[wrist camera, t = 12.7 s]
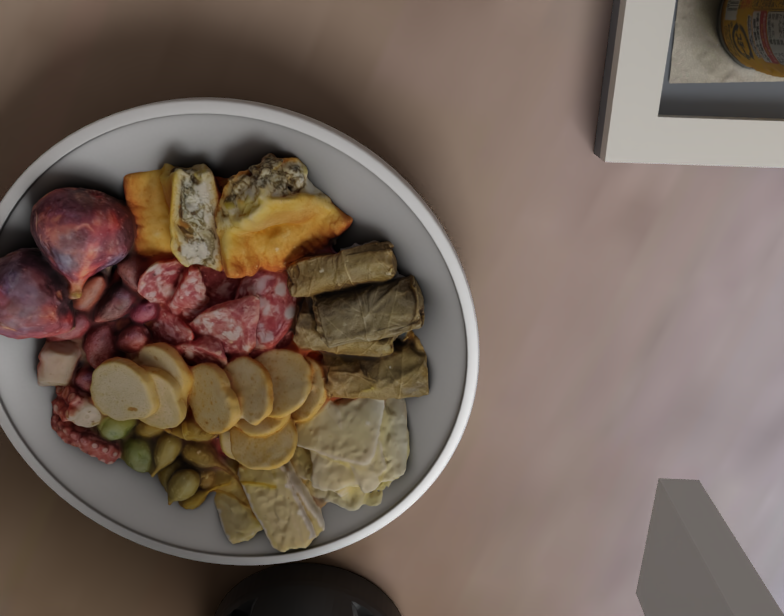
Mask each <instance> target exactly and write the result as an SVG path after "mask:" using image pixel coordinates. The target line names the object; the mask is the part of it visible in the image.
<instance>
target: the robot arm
mask: <svg viewBox="0 0 784 616" xmlns="http://www.w3.org/2000/svg"><path fill="white" fill-rule="evenodd" d="M636 594H637V597H638V599H639V602H640V604H641V607H642V609H643V612H644V614H645V616H784V614H783V613H782V611H781V610H780V608H779V606H778V605H777V603H776V602H775V600H774V598H773V597H772V595H771V594H770V592H769V591H768V589H767V587H766V586H765V584H764V583H763V581H762V579H761V578H760V576H759V575H758V573H757V572H756V570H755V568H754V567H753V565H752V564H751V562H750V560H749V559H748V557H747V556H746V554H745V553H744V551H743V549H742V548H741V546H740V545H739V543H738V541H737V540H736V538H735V537H734V535H733V534H732V532H731V530H730V529H729V527H728V526H727V524H726V522H725V521H724V519H723V518H722V516H721V515H720V513H719V511H718V510H717V508H716V507H715V505H714V503H713V502H712V500H711V499H710V497H709V495H708V494H707V492H706V491H705V489H704V488H703V486H702V484H701V483H700V481H699V480H685V479H662V478H659V480H658V485H657V490H656V495H655V500H654V505H653V510H652V515H651V520H650V525H649V530H648V535H647V540H646V545H645V550H644V555H643V560H642V565H641V570H640V575H639V580H638V586H637V591H636ZM215 616H401V615H400V613H399V611H398V610H397V608H396V607H395V605H394V604H393V602H392V601H391V600H390V599H389V598H388V597H387V596H386V595H385V594H384V593H383V592H382V591H381V590H380V589H379V588H377V587H376V586H375V585H373V584H372V583H370V582H369V581H367V580H365V579H364V578H362V577H360V576H358V575H356V574H353V573H351V572H348V571H346V570H343V569H339V568H336V567H332V566H327V565H320V564H309V563H299V564H287V565H281V566H276V567H272V568H269V569H266V570H263V571H260V572H258V573H256V574H254V575H251V576H250V577H248V578H246V579H245V580H243V581H242V582H240V583H239V584H238V585H236V586H235V587H234V588H233V589H232V590H231V591H230V592H229V593H228V594H227V595H226V596H225V598H224V599H223V600H222V602H221V604H220V605H219V607H218V609H217V611H216V614H215Z"/></svg>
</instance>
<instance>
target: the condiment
mask: <svg viewBox="0 0 784 616" xmlns="http://www.w3.org/2000/svg"><path fill="white" fill-rule="evenodd" d="M717 44H718V45H717ZM776 81H784V0H678V6H677V16H676V21H675V34H674V44H673V51H672V61H671V71H670V80H669V83H729V82H776Z"/></svg>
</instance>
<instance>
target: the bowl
mask: <svg viewBox="0 0 784 616" xmlns="http://www.w3.org/2000/svg"><path fill="white" fill-rule="evenodd" d="M478 373H479V334H478V325H477V318H476V313H475V307H474V303H473V299H472V295H471V291H470V287H469V284H468V281H467V278H466V275H465V272H464V269H463V267H462V264H461V262H460V259H459V257H458V255H457V252H456V250H455V248H454V246H453V244H452V242H451V240H450V238H449V237H448V235H447V233H446V232H445V230H444V228H443V227H442V225H441V223H440V222H439V220H438V219H437V217H436V216H435V215H434V213H433V212H432V210H431V209H430V208H429V206H428V205H427V204H426V202H425V201H424V200H423V199H422V197H421V196H420V195H419V194H418V193H417V192H416V191H415V189H414V188H413V187H412V186H411V185H410V184H409V183H408V182H407V181H406V180H405V179H404V178H403V177H402V176H401V175H400V174H399V173H398V172H397V171H396V170H395V169H394V168H392V167H391V166H390V165H389V164H388V163H387V162H385V161H384V160H383V159H382V158H380V157H379V156H378V155H376V154H375V153H374V152H372V151H371V150H370V149H368V148H367V147H365V146H364V145H362V144H361V143H359V142H358V141H356V140H355V139H353V138H351V137H350V136H348V135H346V134H344V133H343V132H341V131H339V130H337V129H335V128H333V127H331V126H329V125H327V124H325V123H323V122H321V121H318V120H316V119H313V118H311V117H308V116H306V115H303V114H300V113H297V112H294V111H291V110H288V109H285V108H281V107H277V106H273V105H269V104H265V103H259V102H254V101H249V100H241V99H233V98H217V97H194V98H182V99H172V100H166V101H159V102H154V103H150V104H145V105H141V106H137V107H134V108H130V109H127V110H124V111H120V112H118V113H115V114H112V115H110V116H107V117H104V118H102V119H99V120H97V121H95V122H93V123H91V124H89V125H87V126H84V127H83V128H81V129H79V130H77V131H75V132H74V133H72V134H70V135H68V136H67V137H65V138H64V139H62V140H61V141H60V142H58V143H57V144H55V145H54V146H52V147H51V148H50V149H49V150H47V151H46V152H45V153H44V154H42V155H41V156H40V157H39V158H38V159H37V160H36V161H35V162H33V163H32V164H31V165H30V166H29V167H28V168H27V169H26V170H25V171H24V173H23V174H22V175H21V176H20V177H19V178H18V179H17V180H16V182H15V183H14V184H13V185H12V187H11V188H10V189H9V190H8V192H7V193H6V195H5V196H4V198H3V199H2V201H1V202H0V425H1V427H2V429H3V430H4V432H5V434H6V435H7V437H8V438H9V440H10V441H11V443H12V444H13V446H14V447H15V448H16V450H17V451H18V453H19V454H20V455H21V456H22V458H23V459H24V460H25V461H26V463H27V464H28V465H29V466H30V467H31V468H32V469H33V471H34V472H35V473H36V474H37V475H38V476H39V477H40V478H41V479H42V480H43V481H44V482H45V483H46V484H47V485H48V486H49V487H50V488H51V489H52V490H54V491H55V492H56V493H57V494H58V495H59V496H60V497H62V498H63V499H64V500H65V501H66V502H68V503H69V504H70V505H71V506H73V507H74V508H76V509H77V510H78V511H80V512H81V513H83V514H84V515H85V516H87V517H89V518H90V519H92V520H93V521H95V522H96V523H98V524H100V525H102V526H103V527H105V528H107V529H109V530H110V531H112V532H114V533H116V534H118V535H120V536H122V537H124V538H127V539H129V540H131V541H133V542H136V543H138V544H140V545H143V546H146V547H148V548H151V549H154V550H157V551H160V552H163V553H166V554H170V555H174V556H177V557H181V558H186V559H191V560H195V561H202V562H208V563H216V564H226V565H269V564H279V563H286V562H293V561H299V560H303V559H308V558H312V557H316V556H319V555H323V554H326V553H329V552H332V551H335V550H338V549H341V548H343V547H345V546H348V545H350V544H353V543H355V542H357V541H359V540H361V539H363V538H365V537H367V536H369V535H371V534H372V533H374V532H376V531H378V530H379V529H381V528H382V527H384V526H385V525H387V524H389V523H390V522H391V521H393V520H394V519H395V518H397V517H398V516H400V515H401V514H402V513H403V512H404V511H406V510H407V509H408V508H409V507H410V506H412V505H413V504H414V503H415V502H416V501H417V500H418V499H419V498H420V497H421V496H422V495H423V494H424V493H425V492H426V490H427V489H428V488H429V487H430V486H431V485H432V484H433V482H434V481H435V480H436V479H437V477H438V476H439V475H440V473H441V472H442V471H443V469H444V468H445V466H446V465H447V463H448V462H449V460H450V458H451V457H452V455H453V453H454V452H455V450H456V448H457V446H458V444H459V442H460V440H461V438H462V435H463V433H464V430H465V428H466V425H467V423H468V420H469V417H470V414H471V410H472V406H473V402H474V398H475V393H476V388H477V382H478Z"/></svg>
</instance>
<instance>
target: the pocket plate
mask: <svg viewBox="0 0 784 616" xmlns="http://www.w3.org/2000/svg"><path fill="white" fill-rule="evenodd" d="M677 6H678V0H613V7H612V15H611V22H610V30H609V38H608V46H607V54H606V61H605V69H604V77H603V85H602V93H601V101H600V108H599V116H598V124H597V132H596V140H595V147H594V154H595V155H597V156H598V157H599V158H600V159H602V160H603V161H604V162H622V163H651V164H680V165H710V166H739V167H768V168H784V81H776V82H729V83H669V80H670V71H671V61H672V51H673V44H674V34H675V21H676V16H677ZM717 45H718V44H717Z"/></svg>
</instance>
